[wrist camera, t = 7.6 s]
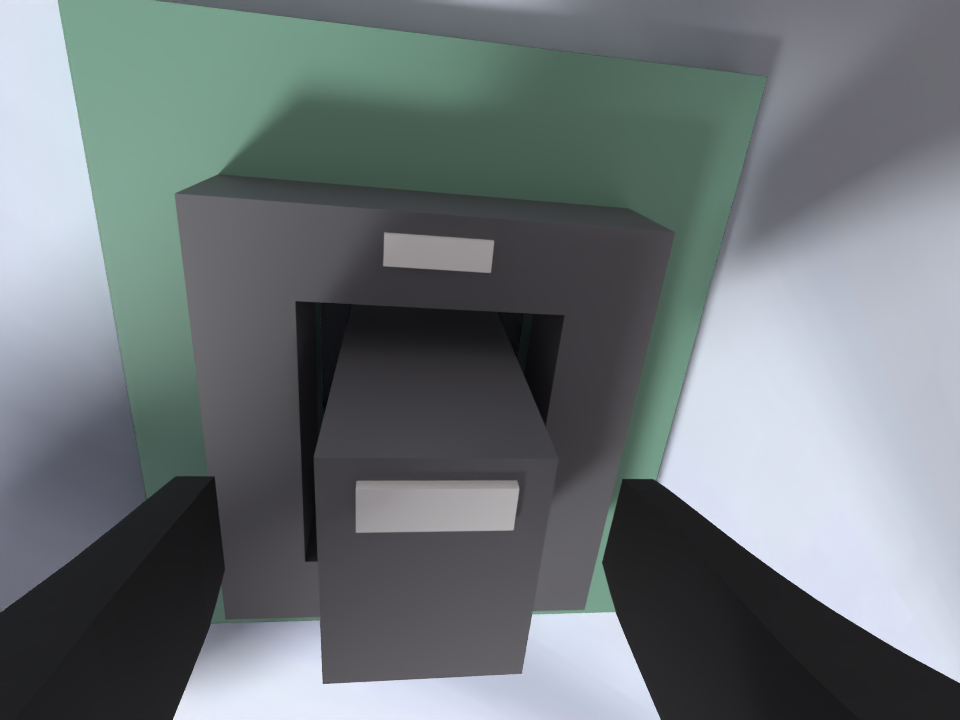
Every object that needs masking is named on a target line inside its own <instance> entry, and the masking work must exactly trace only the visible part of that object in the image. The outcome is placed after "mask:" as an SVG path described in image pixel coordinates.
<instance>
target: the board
mask: <svg viewBox="0 0 960 720" xmlns="http://www.w3.org/2000/svg"><path fill="white" fill-rule="evenodd" d="M58 4H59V10H60V16H61V21H62V27H63V33H64V38H65V44H66V49H67V55H68V61H69V66H70V72H71V77H72V83H73V89H74V94H75V100H76V106H77V111H78V117H79V122H80V128H81V134H82V139H83V145H84V151H85V156H86V162H87V167H88V173H89V179H90V184H91V190H92V196H93V201H94V207H95V212H96V218H97V224H98V229H99V235H100V240H101V246H102V252H103V257H104V263H105V269H106V274H107V280H108V285H109V291H110V297H111V302H112V308H113V314H114V319H115V325H116V330H117V336H118V342H119V347H120V353H121V359H122V364H123V370H124V375H125V381H126V387H127V392H128V398H129V403H130V409H131V415H132V420H133V426H134V432H135V437H136V443H137V448H138V454H139V460H140V465H141V471H142V477H143V482H144V488H145V493H146V499H148V498H149V497H151V496H152V495H153V494H154V493H155V492H157V491H158V490H159V489H160V488H162V487H163V486H164V485H165V484H167V483H168V482H169V481H170V480H172V479H173V478H174V477H176V476H215V484H216V492H217V501H218V510H219V519H220V528H221V537H222V546H223V555H224V563H225V572H224V576H223V579H222V583H221V587H220V591H219V595H218V599H217V603H216V606H215V610H214V613H213V617H212V620H211V623H240V622H276V621H311V620H320V604H319V579H318V555H317V530H316V506H315V481H314V454H315V450H316V446H317V442H318V438H319V434H320V430H321V426H322V422H323V386H322V329H321V302H323V303H341V304H360V305H379V306H398V307H417V308H436V309H455V310H474V311H493V312H512V313H524V314H523V321H522V329H521V336H520V343H519V350H518V358H517V360H518V363H519V365H520V367H521V370H522V372H523V374H524V377H525V379H526V382H527V384H528V386H529V389H530V391H531V393H532V396H533V398H534V401H535V403H536V405H537V408H538V410H539V413H540V415H541V417H542V420H543V422H544V424H545V427H546V429H547V432H548V434H549V436H550V439H551V441H552V443H553V446H554V448H555V451H556V453H557V455H558V458H559V461H558V467H557V473H556V479H555V484H554V490H553V496H552V502H551V507H550V513H549V519H548V525H547V530H546V536H545V542H544V548H543V554H542V559H541V565H540V571H539V577H538V582H537V588H536V594H535V600H534V605H533V611H532V614H560V613H596V612H616V611H615V608H614V604H613V601H612V598H611V594H610V591H609V587H608V583H607V580H606V576H605V572H604V568H603V565H602V561H603V556H604V552H605V548H606V544H607V540H608V536H609V532H610V528H611V524H612V520H613V515H614V511H615V507H616V503H617V499H618V495H619V491H620V487H621V483H622V479H654V480H655V481H656V479H657V475H658V472H659V468H660V464H661V461H662V457H663V453H664V450H665V446H666V443H667V439H668V435H669V432H670V428H671V424H672V421H673V417H674V414H675V410H676V406H677V403H678V399H679V395H680V392H681V388H682V385H683V381H684V377H685V374H686V370H687V367H688V363H689V359H690V356H691V352H692V348H693V345H694V341H695V338H696V334H697V330H698V327H699V323H700V319H701V316H702V312H703V309H704V305H705V301H706V298H707V294H708V291H709V287H710V283H711V280H712V276H713V272H714V269H715V265H716V262H717V258H718V254H719V251H720V247H721V243H722V240H723V236H724V233H725V229H726V225H727V222H728V218H729V214H730V211H731V207H732V204H733V200H734V196H735V193H736V189H737V186H738V182H739V178H740V175H741V171H742V167H743V164H744V160H745V157H746V153H747V149H748V146H749V142H750V138H751V135H752V131H753V128H754V124H755V120H756V117H757V113H758V109H759V106H760V102H761V99H762V95H763V91H764V88H765V84H766V81H767V77H766V76H758V75H750V74H742V73H734V72H726V71H718V70H710V69H702V68H694V67H686V66H678V65H670V64H662V63H654V62H646V61H637V60H629V59H621V58H613V57H605V56H597V55H589V54H581V53H573V52H565V51H557V50H549V49H541V48H533V47H525V46H517V45H509V44H501V43H493V42H485V41H477V40H469V39H461V38H453V37H445V36H437V35H429V34H421V33H412V32H404V31H396V30H388V29H380V28H372V27H364V26H356V25H348V24H340V23H332V22H324V21H316V20H308V19H300V18H292V17H284V16H276V15H268V14H260V13H252V12H244V11H236V10H228V9H220V8H212V7H204V6H196V5H187V4H179V3H171V2H163V1H155V0H58Z"/></svg>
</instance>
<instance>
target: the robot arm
mask: <svg viewBox="0 0 960 720" xmlns="http://www.w3.org/2000/svg"><path fill="white" fill-rule="evenodd" d="M602 565H603V568H604V572H605V576H606V580H607V583H608V587H609V591H610V594H611V598H612V601H613V604H614V608H615V611H616V614H617V617H618V619H619V622H620V624H621V627H622V629H623V632H624V634H625V636H626V639H627V641H628V644H629V646H630V648H631V651H632V653H633V656H634V658H635V660H636V663H637V665H638V667H639V670H640V672H641V674H642V677H643V679H644V681H645V684H646V686H647V688H648V691H649V693H650V695H651V698H652V700H653V702H654V705H655V707H656V709H657V712H658V714H659V716H660V719H661V720H960V683H958V682H957V681H955V680H953V679H951V678H949V677H947V676H945V675H944V674H942V673H940V672H938V671H936V670H934V669H932V668H931V667H929V666H927V665H925V664H923V663H921V662H919V661H917V660H916V659H914V658H912V657H910V656H908V655H907V654H905V653H903V652H901V651H900V650H898V649H896V648H894V647H893V646H891V645H889V644H887V643H886V642H884V641H882V640H881V639H879V638H877V637H876V636H874V635H872V634H871V633H869V632H867V631H866V630H864V629H863V628H861V627H859V626H858V625H856V624H854V623H853V622H851V621H849V620H848V619H846V618H845V617H843V616H841V615H840V614H838V613H836V612H835V611H833V610H832V609H830V608H829V607H827V606H826V605H824V604H823V603H821V602H820V601H818V600H816V599H815V598H813V597H812V596H811V595H809V594H808V593H806V592H805V591H803V590H802V589H800V588H799V587H798V586H796V585H795V584H793V583H792V582H790V581H789V580H787V579H786V578H785V577H783V576H782V575H780V574H779V573H777V572H776V571H775V570H773V569H772V568H770V567H769V566H768V565H766V564H765V563H764V562H762V561H761V560H759V559H758V558H757V557H755V556H754V555H753V554H751V553H750V552H749V551H747V550H746V549H745V548H743V547H742V546H741V545H739V544H738V543H737V542H736V541H734V540H733V539H732V538H730V537H729V536H728V535H726V534H725V533H724V532H723V531H721V530H720V529H719V528H717V527H716V526H715V525H713V524H712V523H711V522H710V521H708V520H707V519H706V518H705V517H703V516H702V515H701V514H699V513H698V512H697V511H696V510H694V509H693V508H692V507H690V506H689V505H688V504H687V503H685V502H684V501H683V500H681V499H680V498H679V497H678V496H676V495H675V494H674V493H672V492H671V491H670V490H668V489H667V488H665V487H664V486H663V485H661V484H660V483H658V482H657V481H655V480H654V479H622V483H621V487H620V491H619V495H618V499H617V503H616V507H615V511H614V515H613V520H612V524H611V528H610V532H609V536H608V540H607V544H606V548H605V552H604V556H603V561H602ZM224 572H225V563H224V555H223V546H222V537H221V528H220V519H219V510H218V501H217V492H216V484H215V476H176V477H174V478H173V479H172V480H170V481H169V482H168V483H167V484H165V485H164V486H163V487H162V488H160V489H159V490H158V491H157V492H155V493H154V494H153V495H152V496H151V497H149V498H148V499H147V500H146V501H145V502H143V503H142V504H141V505H140V506H138V507H137V508H136V509H135V510H134V511H132V512H131V513H130V514H129V515H128V516H126V517H125V518H124V519H123V520H121V521H120V522H119V523H118V524H117V525H115V526H114V527H113V528H112V529H110V530H109V531H108V532H107V533H105V534H104V535H103V536H102V537H100V538H99V539H98V540H97V541H95V542H94V543H93V544H92V545H90V546H89V547H88V548H87V549H85V550H84V551H83V552H82V553H80V554H79V555H78V556H76V557H75V558H74V559H73V560H71V561H70V562H69V563H67V564H66V565H65V566H63V567H62V568H61V569H59V570H58V571H57V572H55V573H54V574H52V575H51V576H50V577H48V578H47V579H46V580H44V581H43V582H42V583H40V584H39V585H37V586H36V587H35V588H33V589H32V590H31V591H29V592H28V593H27V594H25V595H24V596H23V597H21V598H20V599H18V600H17V601H16V602H14V603H13V604H12V605H10V606H9V607H8V608H6V609H5V610H3V611H2V612H1V613H0V720H173V718H174V715H175V713H176V710H177V708H178V705H179V703H180V700H181V698H182V695H183V693H184V691H185V688H186V686H187V683H188V681H189V678H190V676H191V673H192V671H193V668H194V666H195V663H196V661H197V658H198V656H199V653H200V651H201V648H202V646H203V643H204V640H205V638H206V635H207V633H208V630H209V627H210V624H211V620H212V617H213V613H214V610H215V606H216V603H217V599H218V595H219V591H220V587H221V583H222V579H223V576H224Z"/></svg>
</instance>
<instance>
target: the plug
mask: <svg viewBox="0 0 960 720" xmlns="http://www.w3.org/2000/svg"><path fill="white" fill-rule="evenodd" d="M558 461H559V458H558V455H557V453H556V451H555V448H554V446H553V443H552V441H551V439H550V436H549V434H548V432H547V429H546V427H545V424H544V422H543V420H542V417H541V415H540V413H539V410H538V408H537V405H536V403H535V401H534V398H533V396H532V393H531V391H530V389H529V386H528V384H527V382H526V379H525V377H524V374H523V372H522V370H521V367H520V365H519V363H518V360H517V358H516V355H515V353H514V351H513V348H512V346H511V344H510V341H509V339H508V336H507V334H506V332H505V329H504V327H503V325H502V322H501V320H500V317H499V315H498V313H497V312H493V311H474V310H455V309H436V308H417V307H398V306H379V305H360V304H352V305H351V309H350V313H349V317H348V321H347V325H346V329H345V333H344V337H343V341H342V345H341V349H340V353H339V357H338V361H337V365H336V369H335V373H334V378H333V382H332V386H331V390H330V394H329V398H328V402H327V406H326V410H325V414H324V418H323V422H322V426H321V430H320V434H319V438H318V442H317V446H316V450H315V454H314V481H315V506H316V530H317V555H318V579H319V604H320V628H321V653H322V677H323V684H330V683H350V682H369V681H388V680H408V679H427V678H446V677H466V676H485V675H505V674H522V669H523V663H524V657H525V652H526V646H527V640H528V634H529V628H530V623H531V617H532V611H533V605H534V600H535V594H536V588H537V582H538V577H539V571H540V565H541V559H542V554H543V548H544V542H545V536H546V530H547V525H548V519H549V513H550V507H551V502H552V496H553V490H554V484H555V479H556V473H557V467H558Z"/></svg>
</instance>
